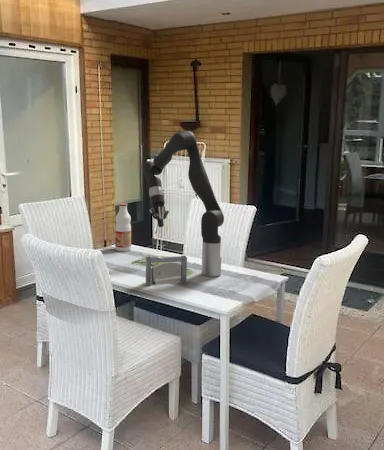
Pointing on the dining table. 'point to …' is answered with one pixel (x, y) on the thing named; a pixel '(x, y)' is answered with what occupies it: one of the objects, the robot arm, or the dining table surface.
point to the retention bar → (166, 259)
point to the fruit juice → (123, 229)
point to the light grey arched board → (166, 273)
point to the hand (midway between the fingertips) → (161, 226)
